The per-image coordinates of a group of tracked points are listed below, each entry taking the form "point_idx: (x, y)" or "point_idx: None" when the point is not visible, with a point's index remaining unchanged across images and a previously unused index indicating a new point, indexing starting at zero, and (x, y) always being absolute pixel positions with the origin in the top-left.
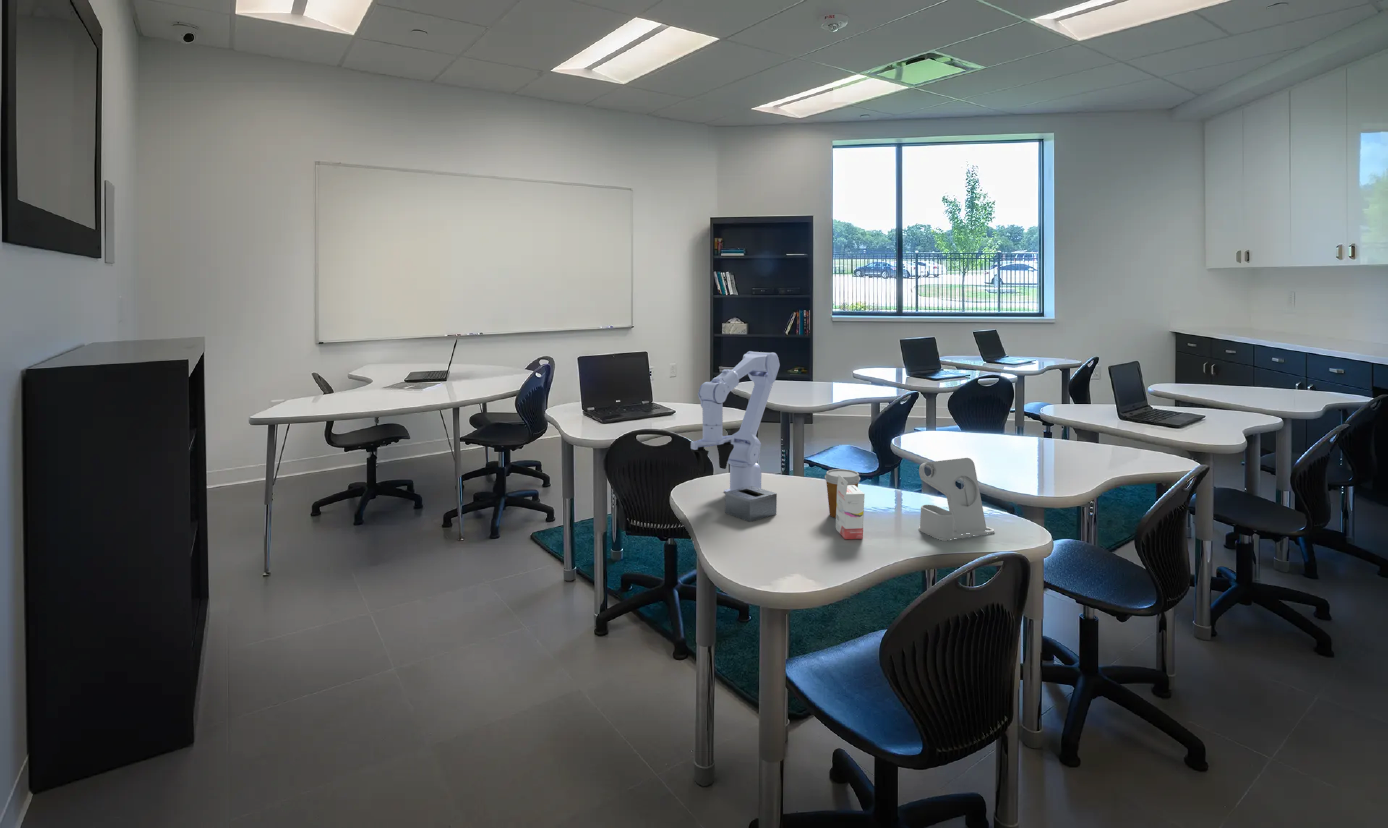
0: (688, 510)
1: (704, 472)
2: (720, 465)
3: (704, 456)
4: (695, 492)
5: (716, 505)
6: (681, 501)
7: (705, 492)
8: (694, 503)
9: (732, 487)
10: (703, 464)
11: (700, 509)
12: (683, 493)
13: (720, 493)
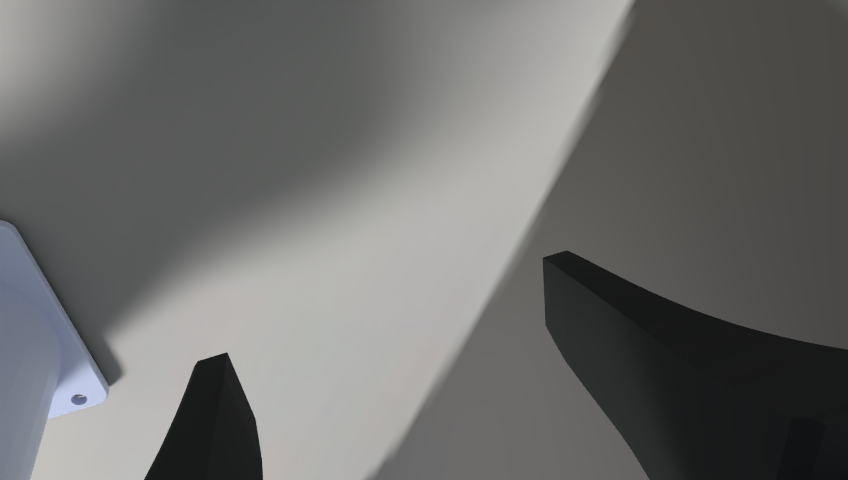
0: (571, 84)
1: (567, 254)
2: (253, 432)
3: (773, 357)
4: (316, 423)
5: (323, 104)
6: (494, 284)
7: None
8: (446, 216)
9: (44, 358)
10: (663, 298)
11: (488, 65)
12: (396, 421)
13: (150, 367)
